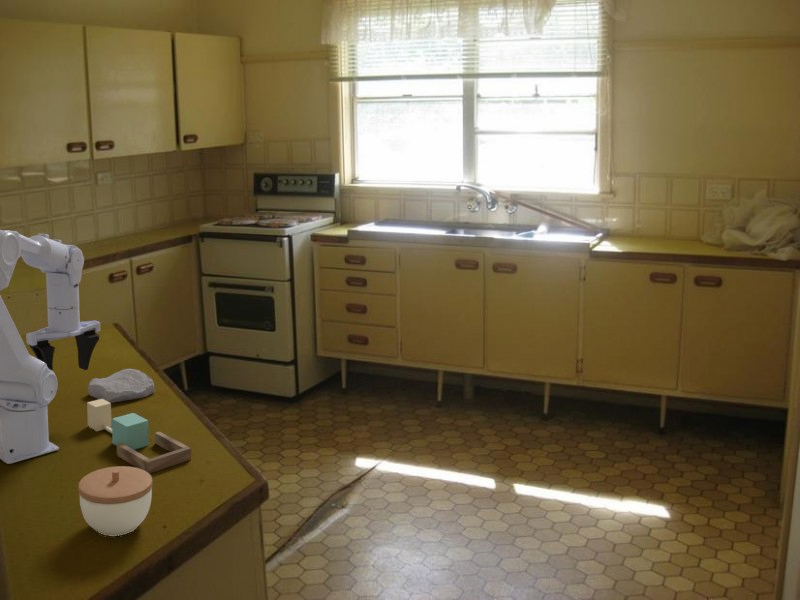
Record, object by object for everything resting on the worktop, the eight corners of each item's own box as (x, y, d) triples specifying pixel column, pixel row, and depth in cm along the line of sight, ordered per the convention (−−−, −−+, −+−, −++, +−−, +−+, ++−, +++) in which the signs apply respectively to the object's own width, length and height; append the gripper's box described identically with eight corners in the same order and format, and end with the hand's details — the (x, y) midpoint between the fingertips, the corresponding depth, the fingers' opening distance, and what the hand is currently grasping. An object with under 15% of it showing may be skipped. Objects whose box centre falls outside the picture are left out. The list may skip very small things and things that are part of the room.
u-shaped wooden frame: (191, 459, 158) (191, 448, 158) (147, 473, 152) (147, 462, 151) (159, 442, 164) (159, 431, 164) (116, 455, 158) (116, 444, 157)
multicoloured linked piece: (148, 445, 163) (148, 420, 162) (127, 451, 160) (126, 426, 158) (105, 421, 173) (105, 397, 171) (84, 427, 169) (84, 403, 168)
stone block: (159, 400, 190) (131, 381, 195) (161, 381, 188) (133, 362, 193) (112, 417, 181) (84, 395, 186) (113, 397, 179) (85, 376, 184)
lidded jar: (127, 503, 141) (125, 450, 139) (167, 527, 135) (166, 471, 132) (66, 526, 133) (63, 470, 131) (105, 553, 126) (103, 494, 124)
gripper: (39, 316, 158) (42, 387, 161) (108, 303, 169) (110, 369, 173) (18, 308, 162) (22, 377, 166) (88, 296, 173) (90, 361, 177)
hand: (66, 373), depth 169 cm, fingers open, 7 cm apart
